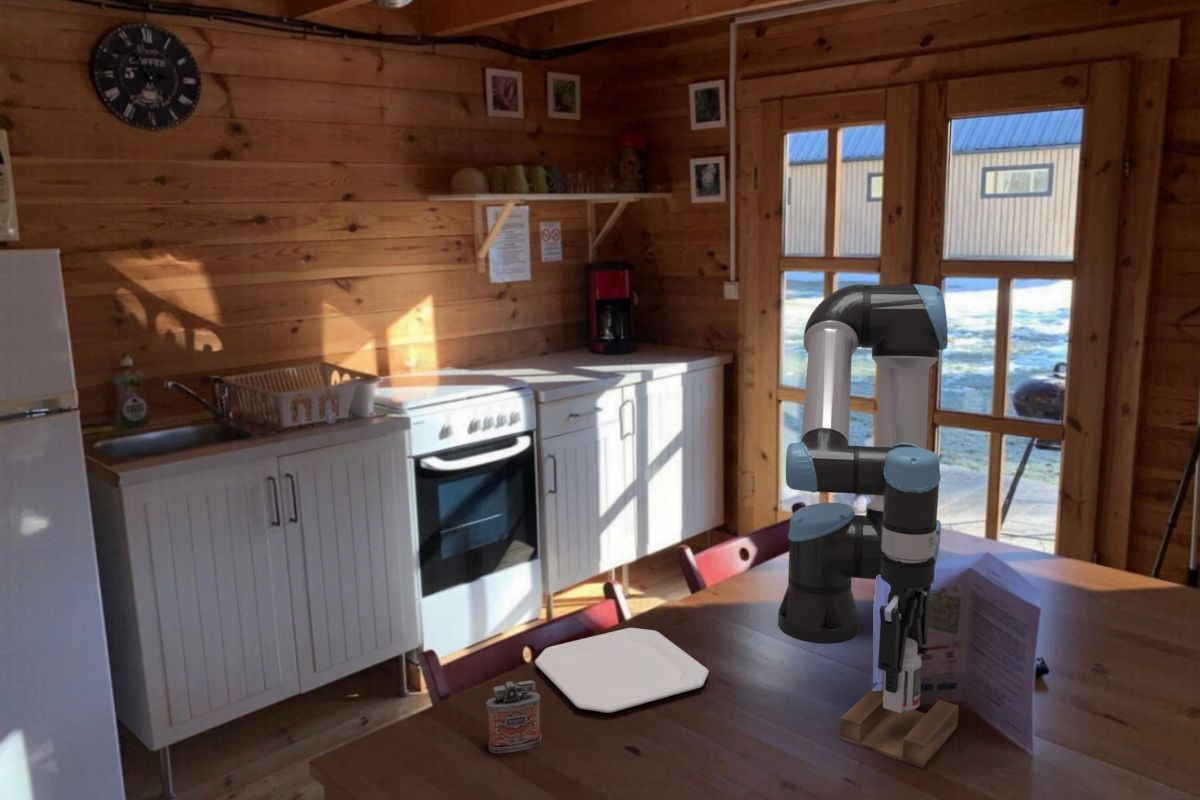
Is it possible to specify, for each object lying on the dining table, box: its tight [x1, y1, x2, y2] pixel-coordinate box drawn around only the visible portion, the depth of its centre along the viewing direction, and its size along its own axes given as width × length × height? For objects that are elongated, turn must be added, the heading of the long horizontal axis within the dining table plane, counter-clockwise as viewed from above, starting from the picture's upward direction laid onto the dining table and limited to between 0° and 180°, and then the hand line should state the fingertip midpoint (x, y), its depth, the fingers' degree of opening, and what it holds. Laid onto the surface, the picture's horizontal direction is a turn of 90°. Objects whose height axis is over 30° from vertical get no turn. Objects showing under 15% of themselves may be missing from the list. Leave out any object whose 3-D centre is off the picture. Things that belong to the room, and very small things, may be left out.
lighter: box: [486, 679, 543, 754], centre depth 144 cm, size 8×3×10 cm, turn 106°
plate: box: [534, 627, 710, 713], centre depth 166 cm, size 25×25×2 cm
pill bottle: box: [882, 638, 923, 711], centre depth 144 cm, size 5×5×10 cm
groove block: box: [839, 688, 960, 769], centre depth 146 cm, size 13×14×4 cm
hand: (900, 701), depth 145 cm, fingers closed on pill bottle, 5 cm apart
